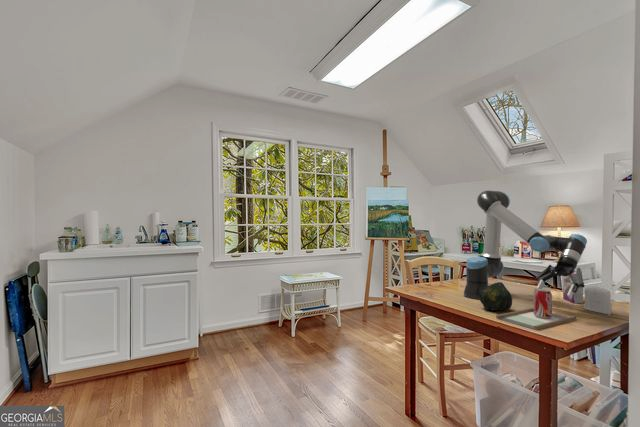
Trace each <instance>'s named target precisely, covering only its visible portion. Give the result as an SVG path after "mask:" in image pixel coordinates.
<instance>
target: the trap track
mask: <svg viewBox="0 0 640 427" xmlns="http://www.w3.org/2000/svg"><path fill="white" fill-rule="evenodd" d="M495 316H496V317H495V318H496V319H497V320H500V321H504V322H508V323H510V324H513V325H517V326H521V327H524V328H528V329H531V330H535V331H540V330H543V329H547V328H549V327H550V326H551V327H554V326H557V325H561V324H565V323H568V322H573V321H576V320H577V316H576V315H572V316H565V315H564V316H563V315H561V314H560V315H559V314H555V313H552V317H551V318H550V319H543V318H538V317H536V316H535V315H534V306H533V307H530V308H525V309H521V310H515V311H511V312H505V313H501V314H496V315H495Z"/></svg>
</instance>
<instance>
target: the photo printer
mask: <svg viewBox="0 0 640 427" xmlns="http://www.w3.org/2000/svg"><path fill="white" fill-rule="evenodd" d="M611 295H612V294H611V292H610V290H608V289H606V288H602V287H600V286H599V287H598V286H585V287H584V309H585V310H586V311H590V312H594V313H595V312H596V313H599V314H603V315H607V314H608V315H607V316H609V315H611V312H612V308H611V307H612V306H611V305H612V303H611V297H612V296H611Z"/></svg>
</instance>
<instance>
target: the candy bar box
mask: <svg viewBox="0 0 640 427" xmlns="http://www.w3.org/2000/svg"><path fill="white" fill-rule="evenodd" d="M571 275H572V276H573V278H574V279H575V280H576V282H577V283H579V280H578V277H577V273H576V272H574V273H572V274H571ZM581 276H582V277H583V274H581ZM561 277H562V280H561V281H562V299H563V300H566V301H568V302H570V303H573V304H576V305H577V304H582V305H583V304H584V290H583V288H584V287H579V288H578V290H577V292H576V293H574V294H573V296H572V299H569V297H568V296H567V294H568V292H569V290H570V287H571V285H572V284H574V283H573V281H572V280H571V278H570V277H569V276H566V277H565V276H561ZM574 285H575V284H574Z"/></svg>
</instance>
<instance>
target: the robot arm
mask: <svg viewBox="0 0 640 427" xmlns="http://www.w3.org/2000/svg"><path fill="white" fill-rule="evenodd" d="M476 202H477V205H478V206H479V208H480V209H481V210H482V211H483V212H484V213H485V215H486V216H485V218H486V219H485V229H484V239H483V240H484V241H483V248H482V249H483V252H482V253H480V255H479V256H476V257H474V256H473V257H469V258H467V259H466V261H465V262H466V264H465V266H466V270H465V271H466V284H465V288H464V290H463V296H464V297H466V298H468V299H475V300H480V293H481V291H482V289H484V288H485V287H487V286H489V278H495V277H497V276H500V275H501V274H503V271H504V267H505V266H504V264H503V262H502V256H501V255H500V253H499V252H500V241H501V234H502V233H501V232H502V224H503V225H505V226H506V227H507V229H508V228H509V230H511V231H512V232H514V234H516V235H517V236H518V237H520V238H521V239H523V240H524V242H526V243H528V244H529V247H530V249H531V250H533V251H534V252H538V253H543V252H544V253H545V252H551V251H555V252H561V253H560V256H559V258H558V259H557V262H556V265H555V266H552V265H551V264H549V265H548V266H547V267H546V268H545V269H544V270H543V271H541V272H540V273H538V274H537V275H536V276H535V278H536V280H537V283H536V285H537V287H536V288H541V289H544V288H543V287H544V285H545V284H546V283H545V282H546V281H548V280H551V279H552V278H554V277H557V276H559V277H562V276H565V277H566V276H569V277H570V278H571V280H572V281H573V283H574V284H575V285H574V284H572V285H571V287H570V290H569V292H568V294H567V296H568V297H569V299H572V296H573V294H574V293H576V292H577V290H578V288H579V287H583V288H586V286H585V283H584V279H583V274H582V273H583V271H582V269H581V268H580V267H577V266H578V263H579V261H580V260H581V258H582V254H583V253H584V251H585V249H586V246H587V243H588V239H587V238H586V237H585V236H584V235H582V234H579V233H573V234H571V235H570V236H569V237H560V236H555V235H554V236H553V235H544V234H543V233H540V232H539V231H538V230H536V229H535V228H533V227H532V226H531V225H530V224H529V223H527V222H525V221H524V220H523V219H522V218H520V217H519V216H517V215H516V213H514V212H512V211H511V210H510V209H508V208H509V206H510V203H511V201H510V197H509V196H508V194H506V193H505V192H503V191H498V190H484V191H482V192H481V193H479V194H478V196H477V199H476ZM574 272H576V273H577V277H578V280H579V283H577V282H576V280H575V279H574V278H573V276H572V275H571V274H572V273H574ZM581 274H582V276H581Z"/></svg>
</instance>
